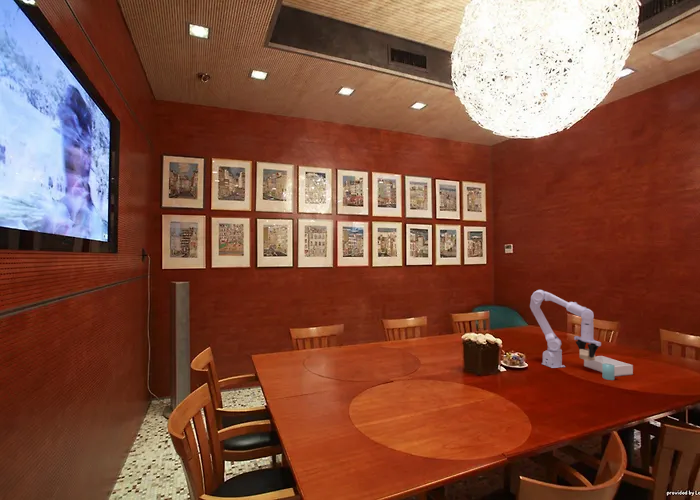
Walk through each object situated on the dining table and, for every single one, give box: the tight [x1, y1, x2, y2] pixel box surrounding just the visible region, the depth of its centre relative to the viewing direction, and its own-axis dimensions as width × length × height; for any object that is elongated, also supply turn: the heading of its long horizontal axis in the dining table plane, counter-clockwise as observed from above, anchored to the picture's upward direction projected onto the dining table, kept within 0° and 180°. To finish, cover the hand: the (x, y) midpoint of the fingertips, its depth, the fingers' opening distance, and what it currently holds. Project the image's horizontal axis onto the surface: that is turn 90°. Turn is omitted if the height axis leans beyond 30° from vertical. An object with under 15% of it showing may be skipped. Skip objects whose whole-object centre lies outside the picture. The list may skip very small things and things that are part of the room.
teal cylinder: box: [601, 363, 616, 381], centre depth 179 cm, size 5×5×7 cm
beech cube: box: [579, 348, 596, 361], centre depth 191 cm, size 5×5×5 cm
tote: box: [583, 355, 634, 377], centre depth 192 cm, size 13×17×5 cm
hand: (587, 355), depth 191 cm, fingers closed on beech cube, 5 cm apart
